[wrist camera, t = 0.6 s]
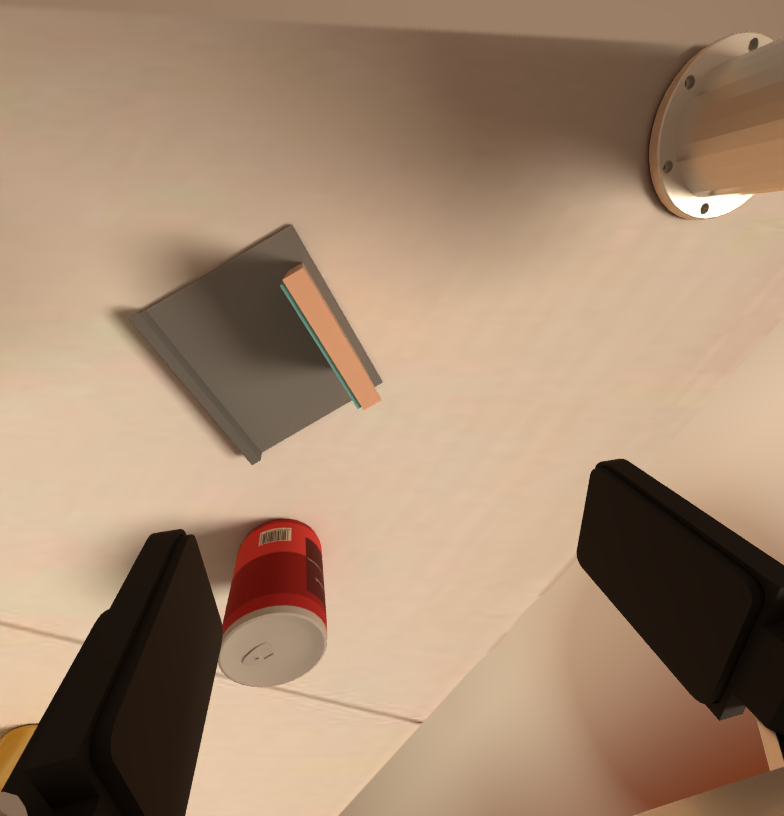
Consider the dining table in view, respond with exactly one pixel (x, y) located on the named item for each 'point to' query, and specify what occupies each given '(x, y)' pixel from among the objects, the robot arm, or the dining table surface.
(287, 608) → the canned food
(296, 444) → the dining table surface
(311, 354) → the mat
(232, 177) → the dining table surface
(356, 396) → the tile
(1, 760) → the plant pot
